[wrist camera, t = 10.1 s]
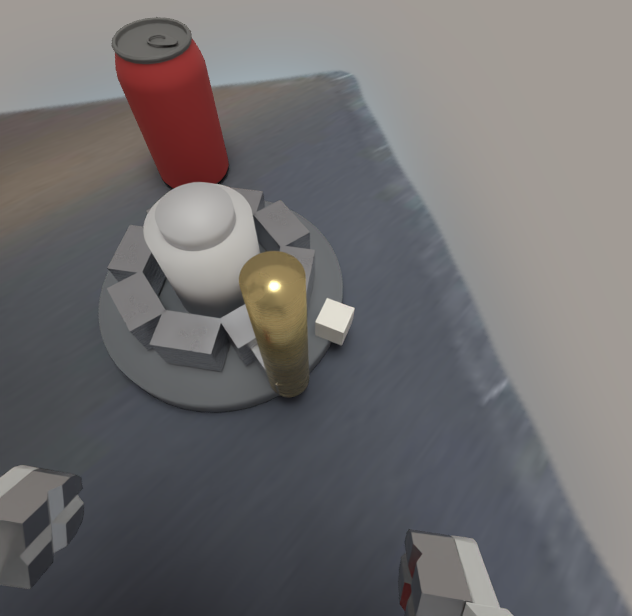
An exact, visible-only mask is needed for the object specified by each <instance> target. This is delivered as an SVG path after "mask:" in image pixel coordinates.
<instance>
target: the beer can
mask: <svg viewBox="0 0 632 616" xmlns="http://www.w3.org/2000/svg"><path fill="white" fill-rule="evenodd" d="M112 48H113V50H114V51H115V65H116V71H117V77H118V80H119V82H120V84H121V87H122V89H123V91H124V93H125V96H126V98H127V100H128V103H129V105H130V107H131V110H132V112H133V114H134V116H135V119H136V121H137V123H138V125H139V128H140V130H141V132H142V135H143V137H144V139H145V141H146V144H147V146H148V148H149V150H150V153H151V155H152V157H153V160H154V162H155V164H156V166H157V169H158V171H159V173H160V175H161V177H162V179H163V181H164V182H165V183H167V184H168V185H169V186H171V187H172V188H176V187H178V186H181V185H184V184H188V183H193V182H205V183H213V184H217V183H218V182H220V181H221V179H222V178H223V177H224V176H225V174H226V172H227V169H228V165H229V163H228V157H227V153H226V148H225V144H224V140H223V136H222V131H221V127H220V123H219V119H218V114H217V110H216V106H215V102H214V97H213V93H212V89H211V85H210V80H209V77H208V72H207V68H206V64H205V60H204V58H203V56H202V54H201V51H200V50H199V48H198V47H197V45H196V43H195V42H194V40H193V39H192V37H191V31H190V30H189V28H188V27H187V26H186V25H185V24H183V23H181V22H179V21H177V20H174V19H170V18H158V17H156V18H147V19H142V20H138V21H134V22H132V23H130V24H127V25H125V26H124V27H122V28H121V29H120V30H118V31H117V32H116V34H115V35H114V37H113V38H112Z"/></svg>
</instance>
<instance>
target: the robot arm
mask: <svg viewBox="0 0 632 616" xmlns="http://www.w3.org/2000/svg"><path fill="white" fill-rule="evenodd" d="M82 489H83V487H82V479H81V477H79V476H77V475H74V474H69V473H64V472H59V471H53V470H48V469H43V468H35V467H30V466H25V465H19V466H16V467H13V468H12V469H11V470H9V471H8V472H7V473H6V474H4V475H3V476H2V477H0V585H5V586H12V587H19V588H26V589H31V588H32V587H33V586H34V585H35V584H36V582H37V581H38V580H39V579H40V578H41V576H42V575H43V574H44V573H45V572H46V570H47V569H48V568H49V567H50V566H51V564H52V563H53V560H54V552H56V551H58V550H60V549H62V548H64V547H65V546H67V545H68V544H69V543H70V542H71V540H72V539H73V538H74V537H75V535H76V534H77V531H78V529H79V527H80V525H81V523H82V520H83V515H84V503H83V502H82V500H81V499H80V498H79V496H78V493H79V492H80V491H81V490H82ZM405 549H406V554H404V555H403V556H402V557H401V561H400V567H399V578H398V589H399V601H400V605H401V606H402V608H403V609H404V611H405V614H404V616H513V615H512V614H511V613H510V612H509V611H508V609H503V608H500V606H499V603H498V600H497V598H496V595H495V592H494V589H493V587H492V584H491V581H490V578H489V576H488V573H487V570H486V568H485V565H484V562H483V559H482V557H481V554H480V551H479V548H478V546H477V543H476V542H475V540H474V539H472V538H465V537H458V536H450V535H444V534H438V533H431V532H425V531H418V530H412V529H408V531H407V533H406V537H405Z"/></svg>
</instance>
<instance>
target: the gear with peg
mask: <svg viewBox="0 0 632 616" xmlns="http://www.w3.org/2000/svg"><path fill="white" fill-rule="evenodd" d="M230 188H231V187H230ZM232 189H234V190H235V191H237V192H238V193H240V194H241V195H242V196H243V197H244V198H245V199H246V200H247V202H248V203H249V205H250V207H251V210H252V215H253V220H254V225H255V230H256V235H257V240H258V241H259V242H260V243H261V244H262V246H263V247H264V248H265V249H266V251H267V252H263V253H260V254H257V255H255V256H254V257H252V258H251V259H249V260H248V261H247V262H246V263H245V264H244V266H243V267H242V269H241V271H240V275H239V286H240V289H241V293H242V296H243V299H244V302H245V304H244V305H242V306H241V307H239V308H237V309H236V310H234V311H232V312H230V313H229V314H227V315H225V316H224V317H222V318H215V317H208V316H202V315H195V314H188V313H182V312H175V311H169V310H167V309H166V307H165V306H164V304H163V302H162V301H161V299H160V297H159V296H158V294H159V292H160V290H161V287H162V285H163V283H164V280H165V278H166V276H165V274H164V272H163V271H162V269H161V267H160V266H159V264H158V262H157V260H156V259H155V257H154V255H153V254H152V252H151V250H150V249H149V247H148V245H147V244H146V241H145V238H144V232H143V228H144V227H140V226H133V225H130V226H129V228H128V230H127V231H126V233H125V235H124V237H123V239H122V241H121V243H120V245H119V247H118V249H117V251H116V253H115V254H114V256H113V258H112V260H111V262H110V264H109V266H108V268H107V269H108V270H109V271H110V272H111V273H112V275H113V276H114V277H115V278H116V280H117V281H118V283H116V284H114V285H112V286H110V287H108V288H107V290H108V292H109V294H110V296H111V297H112V299H113V301H114V303H115V305H116V307H117V309H118V311H119V312H120V314H121V316H122V318H123V320H124V322H125V324H126V325H127V327H128V329H129V331H130V332H131V333H132V334H133V335H134V337H135V338H136V339H137V340H138V341H139V342H140V343H141V344H142V345H143V346H144V347H145V348H146V349H147V350H148V351H149V350H151V349H152V348H153V349H154V350H155V351H156V352H157V353H158V354H159V356H160V357H161V358H162V359H163V360H164V361H165V362H166V363H170V364H176V365H183V366H189V367H195V368H201V369H207V370H214V371H220V372H222V369H223V365H224V362H225V359H226V355H227V352H228V348H229V345H230V343H231V345H232V346H233V348H234V349H235V351H236V352H237V354H238V355H239V357H240V358H241V360H242V361H243V363H244V364H245V366H248V365H249V364H251V363H252V362H254V361H256V363H257V364H258V366H259V367H260V369H261V370H262V372H263V373H264V375H265V376H266V377H267V379H268V380H269V382H270V385H271V387H272V389H273V390H274V391H275V392H276V393H277V394H278V395H280V396H283V397H294V396H297V395H299V394H301V393H302V392H303V391H304V390H305V389H306V387H307V385H308V382H309V375H310V371H309V358H308V330H307V313H308V308H309V303H310V298H311V293H312V288H313V283H314V278H315V250H312V249H310V232H309V230H308V229H307V228H306V227H305V226H304V225H303V224H302V223H301V222H300V221H299V219H298V218H297V217H296V216H295V215H294V214H293V213H292V212H291V211H290V210H289V208H288V207H287V206H286V205H285V204H284V203H283V202H282V201H281V200H279V201H277V202H275V203H273V204H271V205H269V206H268V207H266V208H265V202H264V195H263V191H255V190H247V189H239V188H232ZM150 210H151V209H148V210H146V212H147V214H148V213H149V211H150Z"/></svg>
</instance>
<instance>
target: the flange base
mask: <svg viewBox="0 0 632 616" xmlns="http://www.w3.org/2000/svg"><path fill="white" fill-rule="evenodd" d="M264 202H265V208H266V207H268V206H269V205H271V204H273V203H272V202H267V201H264ZM289 210H290V209H289ZM290 211H291V212H292V213H293V214H294V215H295V216H296V217H297V218H298V219H299V221H300V222H301V223H302V224H303V225H304V226H305V227H306V228H307V229H308V230H309V232H310V249H312V250H315V278H314V283H313V288H312V293H311V298H310V303H309V308H308V313H307V330H308V358H309V371H310V372H311V371H312V370H313V369H314V368H315V367H316V365H317V364H318V363H319V362H320V361H321V359H322V358H323V356H324V355H325V353H326V352H327V350H328V349H329V346H330V344H331V342H334V343H336V344H339V345H341V346H342V344H343V342H344V339H345V337H346V335H347V333H348V330H349V328H350V326H351V324H352V320H353V315H354V309H355V308H353V307H350V306H347V305H345V304H342V297H343V282H342V275H341V269H340V266H339V263H338V260H337V257H336V255H335V253H334V251H333V249H332V247H331V245H330V244H329V242H328V241H327V239H326V238H325V237H324V235H323V234H322V233H321V232H320V231H319V230H318V229H317V228H316V227H315V226H314V225H313V224H311V223H310V222H309V221H308V220H307V219H305V218H304V217H302V216H301V215H299V214H297V213H296V212H294V211H292V210H290ZM143 232H144V238H145V241H146V244H147V245H148V247H149V249H150V250H151V252H152V254H153V255H154V257H155V259H156V260H157V262H158V264H159V266H160V267H161V269H162V271H163V272H164V274H165V276H166V278H165V280H164V283H163V285H162V287H161V290H160V292H159V294H158V296H159V297H160V299H161V301H162V302H163V304H164V306H165V307H166V309H167V310H169V311H175V312H182V313H188V314H195V315H202V316H208V317H215V318H222V317H224V316H225V315H227V314H229V313H230V312H232V311H234V310H236V309H237V308H239V307H241V306H242V305H244V304H245V302H244V299H243V296H242V293H241V289H240V286H239V275H240V271H241V269H242V267H243V266H244V264H245V263H246V262H247V261H248V260H249V259H251V258H252V257H254V256H255V255H257V254H260V253H263V252H267V251H266V249H265V248H264V247H263V246H262V244H261V243H260V242H259V241H258V240H257V235H256V230H255V225H254V220H253V215H252V210H251V207H250V205H249V203H248V202H247V200H246V199H245V198H244V197H243V196H242V195H241V194H240V193H238V192H237V191H235V190H234V189H232V188H230V187H227V186H224V185H220V184H213V183H205V182H193V183H188V184H184V185H181V186H178V187H176V188H174V189H172V190H171V191H169V192H168V193H167V194H165V195H164V196H163V197H162V198H161V199H160V200H159V201H157V202H156V203H155V204H154V206H153V207H152V208H151V210H150V211H149V213H148V214H147V216H146V219H145V222H144V228H143ZM116 283H118V281H117V280H116V278H115V277H114V276H113V275H112V273H111V272H110V271H108V273H107V275H106V278H105V281H104V283H103V286H102V290H101V295H100V299H99V312H98V316H99V326H100V331H101V335H102V338H103V342H104V344H105V346H106V348H107V350H108V353H109V355H110V356H111V358H112V359H113V361H114V362H115V363H116V365H117V366H118V368H119V369H120V370H121V371H122V372H123V373H124V374H125V375H126V376H127V377H129V378H130V379H131V380H132V381H133V382H135V383H136V384H137V385H138V386H140V387H141V388H142V389H144V390H145V391H146V392H148V393H149V394H151V395H152V396H153V397H155V398H157V399H159V400H161V401H163V402H165V403H167V404H170V405H173V406H176V407H179V408H182V409H187V410H193V411H198V412H227V411H236V410H241V409H245V408H250V407H253V406H256V405H259V404H262V403H264V402H267V401H269V400H271V399H273V398H275V397H277V396H279V395H278V394H277V393H276V392H275V391H274V390H273V389H272V387H271V385H270V382H269V380H268V379H267V377H266V376H265V375H264V373H263V372H262V370H261V369H260V367H259V366H258V364H257V363H256V361H254V362H252V363H251V364H249V365H248V366H245V364H244V363H243V361H242V360H241V358H240V357H239V355H238V354H237V352H236V351H235V349H234V348H233V346H232V345H231V343H230V345H229V348H228V352H227V355H226V359H225V362H224V365H223V369H222V372H220V371H214V370H207V369H201V368H195V367H189V366H183V365H176V364H170V363H166V362H165V361H164V360H163V359H162V358H161V357H160V356H159V354H158V353H157V352H156V351H155V350H154V349H153V348H152V349H151V350H149V351H148V350H147V349H146V348H145V347H144V346H143V345H142V344H141V343H140V342H139V341H138V340H137V339H136V338H135V337H134V335H133V334H132V333H131V332H130V331H129V329H128V327H127V325H126V324H125V322H124V320H123V318H122V316H121V314H120V312H119V311H118V309H117V307H116V305H115V303H114V301H113V299H112V297H111V296H110V294H109V292H108V290H107V288H108V287H110V286H112V285H114V284H116Z"/></svg>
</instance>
